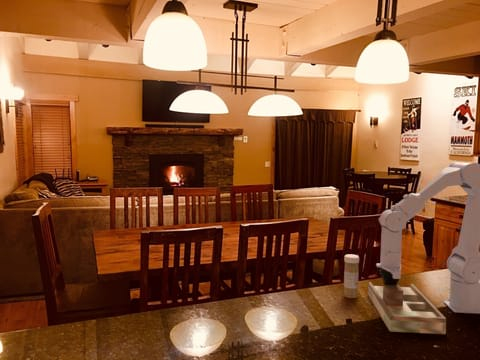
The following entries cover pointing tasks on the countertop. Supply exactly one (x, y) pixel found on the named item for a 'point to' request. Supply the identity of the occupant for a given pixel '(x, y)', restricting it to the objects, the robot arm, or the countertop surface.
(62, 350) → the countertop surface
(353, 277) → the sprinkles bottle
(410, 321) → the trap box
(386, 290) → the walnut block
